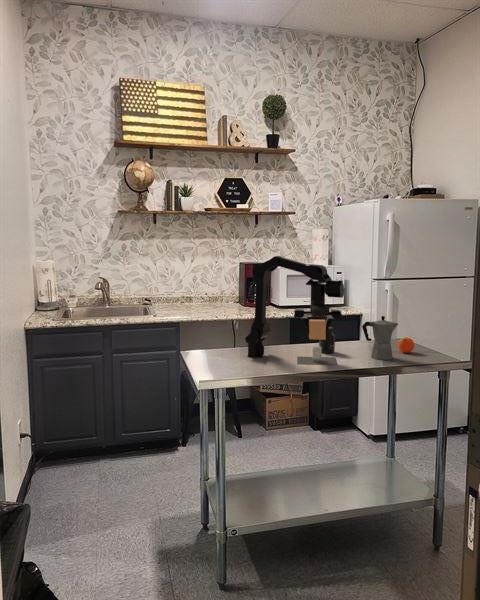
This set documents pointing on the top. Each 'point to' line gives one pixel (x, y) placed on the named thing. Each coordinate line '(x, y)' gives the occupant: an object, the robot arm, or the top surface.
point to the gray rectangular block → (317, 353)
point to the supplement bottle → (328, 342)
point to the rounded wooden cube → (317, 329)
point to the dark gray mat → (310, 362)
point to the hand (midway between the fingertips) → (317, 334)
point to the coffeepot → (381, 338)
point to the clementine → (406, 345)
